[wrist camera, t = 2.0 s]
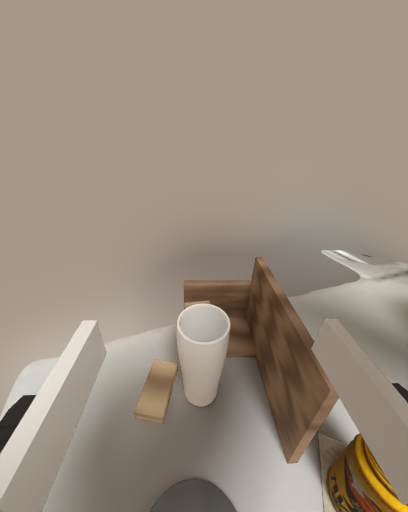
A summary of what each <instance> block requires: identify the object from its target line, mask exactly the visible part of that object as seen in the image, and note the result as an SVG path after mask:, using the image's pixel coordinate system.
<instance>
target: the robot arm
mask: <svg viewBox="0 0 408 512" xmlns="http://www.w3.org/2000/svg"><path fill="white" fill-rule="evenodd" d="M311 350H312V351H313V353H314V355H315V357H316V358H317V360H318V362H319V363H320V365H321V367H322V369H323V370H324V372H325V374H326V375H327V377H328V379H329V381H330V382H331V384H332V386H333V387H334V389H335V391H336V392H337V394H338V396H339V398H340V399H341V401H342V403H343V404H344V406H345V408H346V410H347V411H348V413H349V415H350V416H351V418H352V420H353V422H354V423H355V425H356V427H357V428H358V430H359V432H360V434H361V435H362V437H363V439H364V440H365V442H366V444H367V446H368V447H369V449H370V451H371V452H372V454H373V456H374V458H375V459H376V461H377V463H378V464H379V466H380V468H381V470H382V471H383V473H384V475H385V476H386V478H387V480H388V482H389V483H390V485H391V487H392V488H393V490H394V492H395V494H396V495H397V497H398V499H399V500H400V502H401V504H402V505H405V504H408V391H407V390H406V389H405V388H403V387H402V386H401V385H400V384H398V383H391V382H390V381H389V380H388V379H387V378H386V376H385V375H384V374H383V373H382V372H381V371H380V369H379V368H378V367H377V366H376V365H375V363H374V362H373V361H372V360H371V359H370V357H369V356H368V355H367V354H366V353H365V351H364V350H363V349H362V348H361V347H360V345H359V344H358V343H357V342H356V341H355V339H354V338H353V337H352V336H351V335H350V333H349V332H348V331H347V330H346V329H345V327H344V326H343V325H342V324H341V323H340V321H339V320H338V319H337V318H332V319H324V321H323V324H322V326H321V328H320V330H319V333H318V335H317V337H316V340H315V342H314V344H313V346H312V349H311ZM105 355H106V350H105V346H104V343H103V339H102V336H101V332H100V329H99V325H98V322H97V321H82V323H81V324H80V326H79V328H78V329H77V331H76V332H75V334H74V336H73V337H72V339H71V340H70V342H69V344H68V345H67V347H66V349H65V350H64V352H63V353H62V355H61V357H60V358H59V360H58V361H57V363H56V365H55V366H54V368H53V369H52V371H51V373H50V374H49V376H48V378H47V379H46V381H45V382H44V384H43V386H42V387H41V389H40V390H39V392H38V394H37V395H24V396H22V397H21V398H20V399H19V400H18V401H17V402H16V403H15V404H14V405H13V406H12V407H11V408H10V409H9V410H8V411H7V413H6V414H5V416H4V417H3V419H2V420H1V421H0V512H41V511H42V509H43V506H44V504H45V501H46V499H47V497H48V494H49V492H50V489H51V487H52V484H53V482H54V480H55V477H56V475H57V472H58V470H59V467H60V465H61V462H62V460H63V458H64V455H65V453H66V450H67V448H68V445H69V443H70V441H71V438H72V436H73V433H74V431H75V428H76V426H77V423H78V421H79V419H80V416H81V414H82V411H83V409H84V406H85V404H86V402H87V399H88V397H89V394H90V392H91V389H92V387H93V384H94V382H95V380H96V377H97V375H98V372H99V370H100V367H101V365H102V363H103V360H104V358H105Z"/></svg>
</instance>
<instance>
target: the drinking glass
mask: <svg viewBox="0 0 408 512" xmlns="http://www.w3.org/2000/svg"><path fill="white" fill-rule="evenodd" d="M229 338H230V320H229V317H228V316H227V314H226V313H225V312H224V311H223V310H222V309H220V308H219V307H217V306H214V305H211V304H195V305H192V306H189V307H187V308H186V309H184V310H183V311H182V312H181V314H180V315H179V317H178V320H177V348H178V355H179V361H180V366H181V372H182V378H183V386H184V394H185V396H186V398H187V400H188V401H189V402H190V403H191V404H193V405H195V406H199V407H202V406H206V405H208V404H210V403H211V402H212V401H213V400H214V399H215V397H216V395H217V391H218V384H219V381H220V377H221V373H222V369H223V366H224V362H225V358H226V355H227V351H228V345H229Z"/></svg>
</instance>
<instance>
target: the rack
mask: <svg viewBox="0 0 408 512" xmlns="http://www.w3.org/2000/svg"><path fill="white" fill-rule="evenodd" d="M208 300H209V302H210V304H211V305H214V306H217V307H219V308H220V309H222V310H223V311H224V312H225V313H226V314H227V316H228V317H229V320H230V338H229V345H228V351H227V355H226V357H248V356H256V360H257V363H258V366H259V370H260V373H261V376H262V380H263V383H264V386H265V390H266V393H267V396H268V400H269V403H270V406H271V410H272V413H273V416H274V420H275V423H276V427H277V430H278V433H279V437H280V440H281V443H282V447H283V450H284V453H285V457H286V460H287V463H297V462H298V460H299V459H300V457H301V456H302V454H303V453H304V451H305V450H306V448H307V446H308V445H309V443H310V442H311V440H312V439H313V437H314V436H315V434H316V433H317V431H318V429H319V428H320V426H321V425H322V423H323V422H324V420H325V419H326V417H327V416H328V414H329V412H330V411H331V409H332V408H333V406H334V405H335V403H336V402H337V400H338V399H339V396H338V394H337V392H336V391H335V389H334V387H333V386H332V384H331V382H330V381H329V379H328V377H327V375H326V374H325V372H324V370H323V369H322V367H321V365H320V363H319V362H318V360H317V358H316V357H315V355H314V353H313V351H312V350H311V349H312V346H313V344H314V341H313V339H312V338H311V336H310V334H309V333H308V331H307V329H306V328H305V326H304V325H303V323H302V321H301V320H300V318H299V316H298V315H297V313H296V312H295V310H294V308H293V307H292V305H291V304H290V302H289V300H288V299H287V297H286V295H285V294H284V292H283V291H282V289H281V287H280V286H279V284H278V283H277V281H276V279H275V278H274V276H273V275H272V273H271V271H270V270H269V268H268V266H267V265H266V263H265V262H264V260H263V258H262V257H256V258H255V264H254V269H253V275H252V281H251V282H250V281H184V303H189V302H199V301H208Z"/></svg>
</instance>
